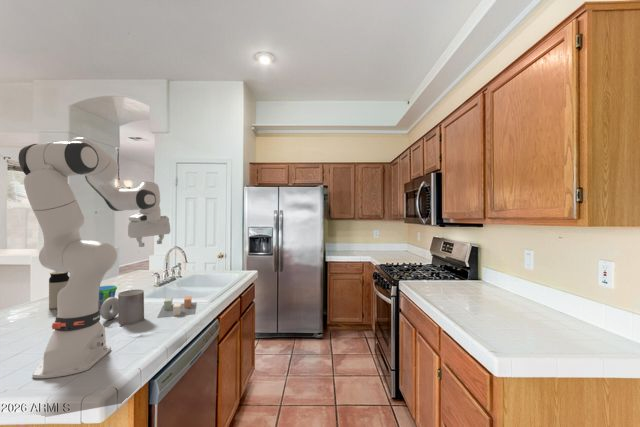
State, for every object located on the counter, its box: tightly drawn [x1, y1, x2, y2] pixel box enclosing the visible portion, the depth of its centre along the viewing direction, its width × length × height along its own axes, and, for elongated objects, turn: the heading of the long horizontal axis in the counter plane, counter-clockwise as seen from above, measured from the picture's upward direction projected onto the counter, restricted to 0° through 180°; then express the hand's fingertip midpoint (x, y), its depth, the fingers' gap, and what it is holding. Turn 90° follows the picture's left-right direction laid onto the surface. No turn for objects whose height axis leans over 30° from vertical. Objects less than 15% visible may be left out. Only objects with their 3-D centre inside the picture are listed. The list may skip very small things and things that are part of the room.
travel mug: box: [48, 270, 70, 310], centre depth 157 cm, size 8×8×18 cm
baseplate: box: [156, 301, 197, 319], centre depth 150 cm, size 20×16×1 cm
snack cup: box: [98, 285, 118, 310], centre depth 157 cm, size 16×10×10 cm
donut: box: [99, 296, 118, 321], centre depth 140 cm, size 10×4×10 cm, turn 175°
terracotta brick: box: [183, 295, 192, 308], centre depth 156 cm, size 6×3×4 cm, turn 20°
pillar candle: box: [117, 288, 145, 328], centre depth 135 cm, size 10×10×15 cm
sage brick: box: [163, 297, 173, 310], centre depth 153 cm, size 6×3×4 cm, turn 20°
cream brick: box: [173, 302, 182, 317], centre depth 145 cm, size 6×3×4 cm, turn 20°
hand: (150, 245), depth 147 cm, fingers open, 8 cm apart
